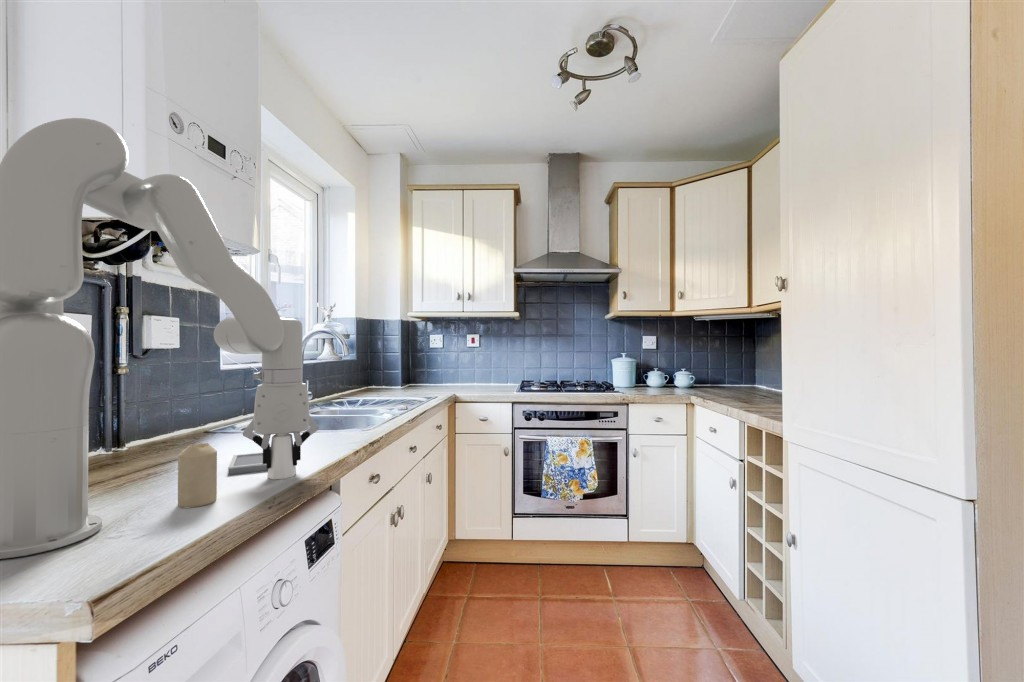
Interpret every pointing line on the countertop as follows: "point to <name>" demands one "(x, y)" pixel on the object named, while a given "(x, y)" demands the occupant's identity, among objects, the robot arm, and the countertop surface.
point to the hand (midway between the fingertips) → (281, 464)
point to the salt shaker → (281, 457)
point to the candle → (197, 476)
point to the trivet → (247, 463)
